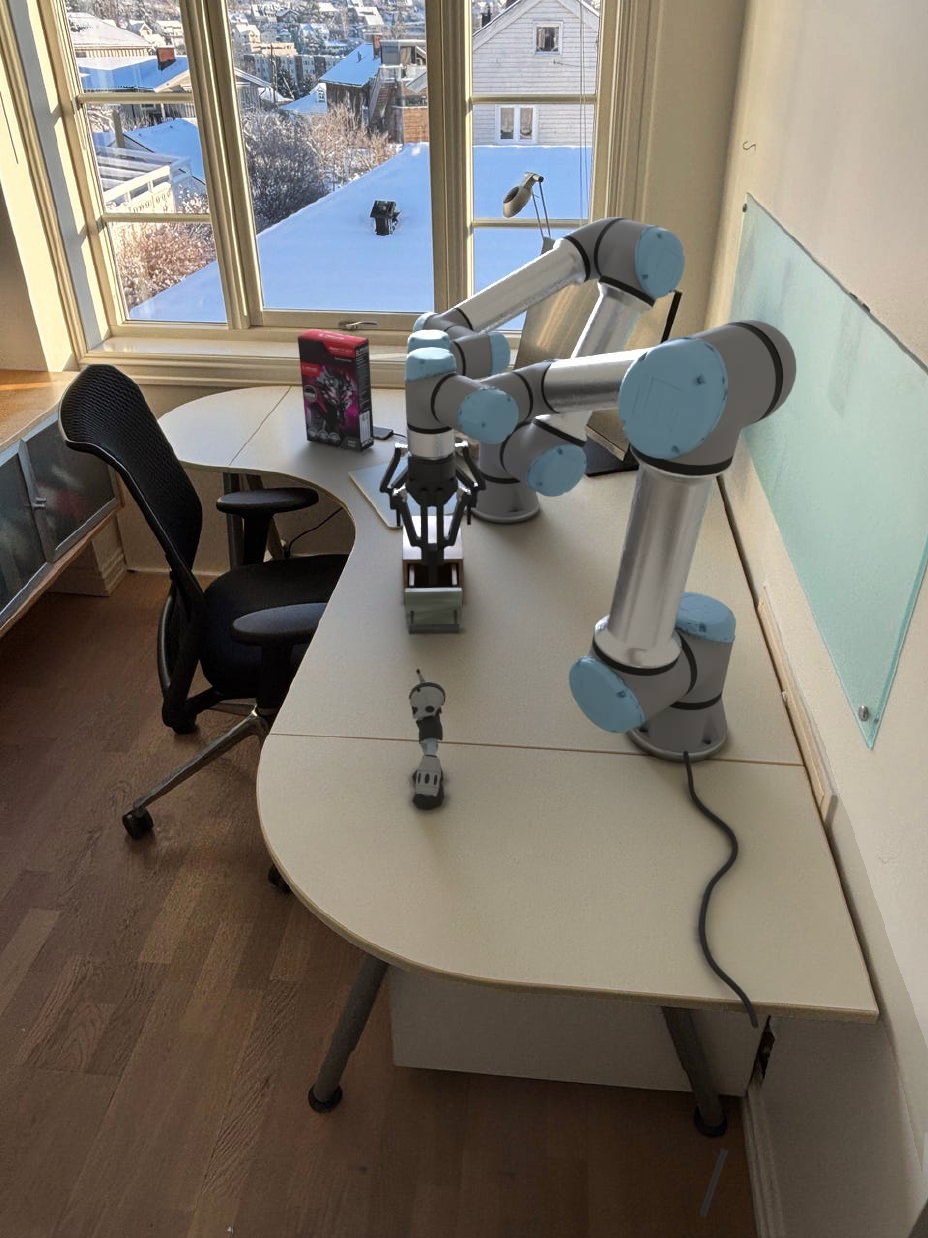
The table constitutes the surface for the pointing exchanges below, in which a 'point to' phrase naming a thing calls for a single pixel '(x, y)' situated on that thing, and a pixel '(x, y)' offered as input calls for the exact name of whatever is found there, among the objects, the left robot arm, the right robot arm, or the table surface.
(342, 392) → the graphics card box
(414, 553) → the cabinet
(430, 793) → the robot
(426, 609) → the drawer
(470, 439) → the stone
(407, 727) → the table surface
